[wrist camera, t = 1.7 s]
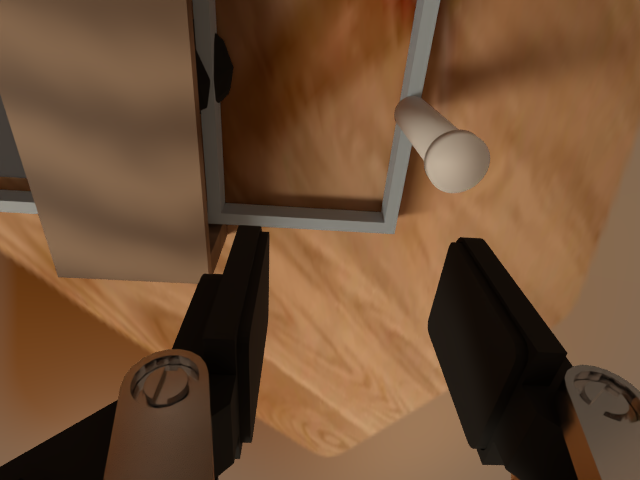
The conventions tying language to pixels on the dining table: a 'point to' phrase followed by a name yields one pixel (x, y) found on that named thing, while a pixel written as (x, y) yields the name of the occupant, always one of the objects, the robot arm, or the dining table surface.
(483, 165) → the gray frame
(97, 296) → the dining table surface
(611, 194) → the dining table surface
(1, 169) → the dark grey flat slab
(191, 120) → the tunnel
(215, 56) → the gaming mouse
